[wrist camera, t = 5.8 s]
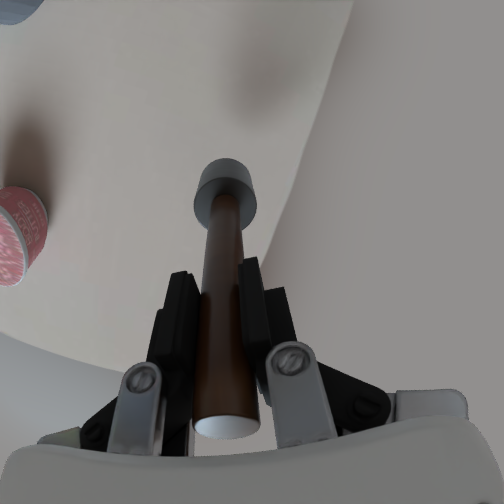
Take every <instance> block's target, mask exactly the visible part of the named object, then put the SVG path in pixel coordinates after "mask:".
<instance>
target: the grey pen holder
mask: <svg viewBox="0 0 504 504" xmlns="http://www.w3.org/2000/svg"><path fill="white" fill-rule="evenodd" d="M42 2H43V0H0V24H4V25H14V24H17V23H20V22H22V21H23V20H25V19H26V18H28V17H29V16H30V15H31V14H32V13H34V11H35V10H36V9H37V8H38V7H39V6H40V5H41V3H42Z"/></svg>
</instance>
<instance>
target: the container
mask: <svg viewBox="0 0 504 504" xmlns="http://www.w3.org/2000/svg"><path fill="white" fill-rule="evenodd" d="M47 228H48V217H47V212H46V209H45V207H44V205H43V203H42V201H41V200H40V198H39V197H38V196H37V195H36V194H35V193H34V192H32V191H31V190H29V189H26V188H22V187H15V186H11V187H5V188H3V189H1V190H0V285H2V286H7V287H10V286H15V285H17V284H18V283H19V282H20V281H21V280H22V279H23V278H24V276H25V274H26V272H27V269H28V268H29V267H30V265H31V264H32V263H33V261H34V260H35V259H36V257H37V256H38V254H39V253H40V252H41V250H42V249H43V247H44V244H45V240H46V236H47Z"/></svg>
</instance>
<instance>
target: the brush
mask: <svg viewBox="0 0 504 504" xmlns="http://www.w3.org/2000/svg"><path fill="white" fill-rule="evenodd" d="M256 209H257V203H256V197H255V193H254V189H253V184H252V180H251V176H250V173H249V171H248V170H247V168H246V167H245V166H244V165H243V164H242V163H240V162H239V161H237V160H234V159H230V158H222V159H218V160H215V161H213V162H211V163H210V164H209V165H208V166H207V167H206V168H205V169H204V171H203V172H202V175H201V178H200V181H199V185H198V188H197V192H196V195H195V199H194V212H195V215H196V218H197V220H198V221H199V223H200V224H201V225H202V226H203V227H204V228H206V229H207V230H208V233H207V241H206V250H205V258H204V268H203V277H202V287H201V297H200V308H199V319H198V331H197V343H196V357H195V371H194V388H193V406H192V427H193V429H194V430H195V431H196V432H197V433H199V434H201V435H203V436H206V437H210V438H215V439H237V438H243V437H246V436H249V435H252V434H254V433H255V432H257V431H258V430H259V428H260V425H261V422H260V413H259V403H258V394H257V384H256V375H255V372H254V370H253V369H252V368H251V366H250V363H249V361H248V358H247V355H246V352H245V349H244V345H243V340H242V329H241V313H240V297H239V280H238V264H241V263H243V259H244V251H243V240H242V230H243V229H244V228H246V227H247V226H248V225H249V224H250V223H251V222H252V220H253V218H254V216H255V213H256Z"/></svg>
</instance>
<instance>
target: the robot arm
mask: <svg viewBox="0 0 504 504" xmlns="http://www.w3.org/2000/svg"><path fill="white" fill-rule="evenodd" d="M238 280H239V297H240V313H241V329H242V340H243V345H244V349H245V352H246V355H247V358H248V361H249V363H250V366H251V368H252V369H253V370H254V372H255V375H256V383H257V386H258V389H259V392H260V394H263V396H264V399H265V402H266V404H267V405H269V406H270V407H272V414H273V420H274V427H275V434H276V441H277V448H278V449H276V450H269V451H262V452H253V453H244V454H233V455H219V456H198V457H197V456H196V457H194V443H195V430H194V429H193V427H192V406H193V388H194V371H195V357H196V343H197V331H198V319H199V308H200V297H201V295H200V292H199V289H198V287H197V284H196V282H195V279H194V276H193V274H192V273H190V274H188V273H187V271H181V272H176V273H172V274H171V277H170V281H169V285H168V289H167V294H166V298H165V302H164V307H163V309H159V310H158V311H157V314H156V318H155V322H154V327H153V331H152V335H151V340H150V344H149V349H148V354H147V358H146V362H141V363H138V364H135V365H133V366H132V367H131V368H129V369H128V370H127V372H126V373H125V374H124V376H123V379H122V382H121V386H120V390H119V394H118V396H117V397H116V398H115V399H114V400H112V401H111V402H110V403H108V404H107V405H106V406H105V407H104V408H102V409H101V410H100V411H99V412H97V413H96V414H95V415H94V416H92V417H91V418H90V419H89V420H87V421H86V423H85V424H84V425H83V427H82V428H80V427H75V428H71V429H68V430H64V431H61V432H58V433H53V434H50V435H46V436H44V437H42V438H41V439H40V440H39V441H38V443H37V444H36V445H30V446H26V447H22V448H20V449H18V450H16V451H14V452H13V453H12V454H11V455H10V456H9V457H8V459H7V461H6V464H5V466H4V469H3V473H2V476H1V480H0V504H504V481H503V478H502V475H501V472H500V469H499V467H498V464H497V462H496V459H495V457H494V455H493V453H492V451H491V449H490V447H489V445H488V443H487V441H486V440H485V438H484V436H483V435H482V434H481V432H480V431H479V430H478V428H477V427H476V426H475V425H474V424H473V423H471V422H470V421H469V418H468V405H467V401H466V398H465V397H464V395H463V394H462V393H461V392H459V391H457V390H454V389H440V390H409V391H408V390H405V391H404V390H402V391H401V390H399V391H398V390H397V391H396V393H385V392H384V391H383V390H381V389H379V388H377V387H375V386H373V385H370V384H368V383H365V382H363V381H361V380H358V379H356V378H354V377H351V376H349V375H347V374H344V373H342V372H340V371H338V370H335V369H333V368H331V367H328V366H326V365H324V364H322V363H320V362H318V361H317V360H316V357H315V354H314V352H313V350H312V349H311V348H310V347H309V346H308V345H306V344H304V343H302V342H297V338H296V334H295V330H294V326H293V322H292V317H291V313H290V310H289V305H288V301H287V297H286V293H285V289H284V287H280V288H275V289H270V290H265V291H264V287H263V282H262V277H261V273H260V268H259V264H258V259H257V257H252V258H247V259H243V263H241V264H238Z"/></svg>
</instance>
